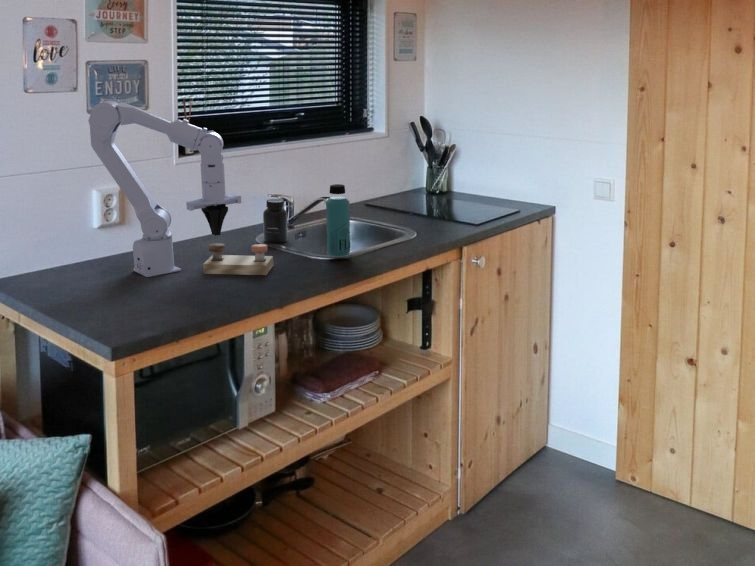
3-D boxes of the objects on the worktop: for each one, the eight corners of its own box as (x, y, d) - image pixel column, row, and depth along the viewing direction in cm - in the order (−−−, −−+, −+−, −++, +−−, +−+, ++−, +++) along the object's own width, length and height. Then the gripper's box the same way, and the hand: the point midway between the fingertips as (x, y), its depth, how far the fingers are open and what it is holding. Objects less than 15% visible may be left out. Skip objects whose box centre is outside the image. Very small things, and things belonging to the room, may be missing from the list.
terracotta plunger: (257, 262, 215) (256, 248, 214) (249, 259, 218) (248, 245, 217) (270, 260, 217) (270, 246, 216) (262, 256, 220) (261, 243, 219)
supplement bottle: (268, 245, 243) (267, 203, 240) (260, 239, 249) (258, 199, 245) (291, 242, 246) (290, 201, 243) (282, 237, 252) (281, 197, 248)
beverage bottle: (338, 263, 225) (338, 188, 219) (321, 258, 229) (319, 184, 223) (355, 258, 229) (355, 184, 223) (338, 254, 234) (337, 181, 228)
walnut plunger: (214, 261, 216) (213, 247, 215) (206, 258, 219) (205, 244, 218) (228, 259, 218) (227, 245, 217) (220, 255, 221) (219, 242, 220)
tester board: (203, 273, 215) (203, 264, 214) (213, 264, 224) (212, 254, 223) (266, 275, 214) (265, 265, 213) (273, 265, 222) (273, 256, 222)
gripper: (195, 187, 205) (198, 241, 209) (246, 180, 214) (249, 232, 218) (180, 183, 210) (184, 236, 214) (232, 176, 219) (234, 228, 223)
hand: (216, 234), depth 217 cm, fingers closed
